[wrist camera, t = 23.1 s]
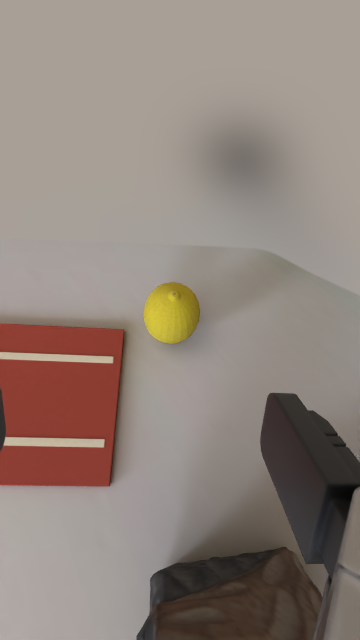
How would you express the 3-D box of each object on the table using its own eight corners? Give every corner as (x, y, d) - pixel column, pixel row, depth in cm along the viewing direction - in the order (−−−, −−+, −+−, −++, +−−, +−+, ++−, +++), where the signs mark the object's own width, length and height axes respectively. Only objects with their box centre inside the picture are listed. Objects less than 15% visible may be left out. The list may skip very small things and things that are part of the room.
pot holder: (124, 331, 36) (124, 329, 35) (109, 486, 29) (109, 486, 29) (-30, 324, 35) (-33, 321, 34) (-81, 484, 28) (-87, 484, 27)
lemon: (150, 304, 38) (151, 262, 30) (198, 314, 38) (210, 274, 30) (138, 348, 35) (136, 313, 28) (189, 359, 35) (200, 327, 28)
